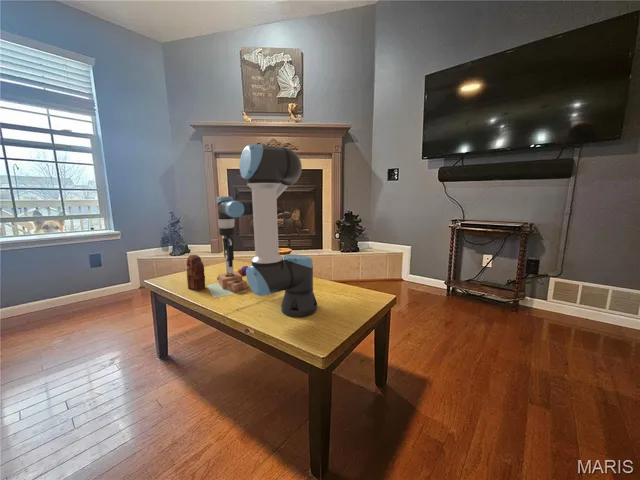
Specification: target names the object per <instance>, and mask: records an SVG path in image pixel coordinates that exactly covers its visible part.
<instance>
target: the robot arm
mask: <svg viewBox="0 0 640 480" xmlns="http://www.w3.org/2000/svg"><path fill="white" fill-rule="evenodd" d="M239 159H240V160H239V173H240V177H241V178H242V179H244V180H246V186H248V187H249V189H251V196H252V197H251V199H252V200H234V198H233V197H232V196H218V197H216V205H217V206H216V207H217V220H218V221H217V222H218V227H219V228H218V232H219V235H220V236H223V238H222V239H221V240H222V243H223V244H222V245H223V247H222V248H223V257H224V259H225V262H226V261H227V268H228V273H233V272H234V262H233V261H234V260H235V258H234V256H235V255H234V254H235V253H234V241H233V238H232V236H234V235H235V234H236V228H235V223H236V220H235V218H240V217H253V220H252V221H253V233H254V234H253V236H254V237H253V238H254V253H255V254H254V256H253V257H252V258H251V265H249V266H248V267H247V270H246V275H245V276H246V280H247V281H246V282H247V285H248V286H249V288H250V290H251V291H252V293H253V294H254V295H255V296H258V297H262V296H263V297H264V296H270V295H272V294H275V293H280V292H283V291H284V294H283V298H282V301H281V305H280V306H281V307H280V308H281V309H280V310H281V313H283V314H284V315H285V316H288V317H292V318H293V317H294V318H303V317H308V316H311V315H313V314H315V313H317V311H318V302H317V299H316V296H315V293H314V264H313V261H314V260H313V258H311V257H310V256H308V255H303V254H295V253H294V254H293V253H292V254H285V255H284V257H283V256H282V255H281V254H280V252H279V251H280V250H279V248H280V247H279V227H278V223H279V222H278V205H277V203H278V201H277V199H279V197H280V196H281V195H282V194H283V192H285V191H286V189H287V188H288V187H291V186H293V185H294V184H295V183H297V181H298V180H299V178H300V176H301V174H302V170H303V168H302V166H303V165H302V161H301V159H300V157H299V155H298V154H297V153H296V152H295V151H294V150H292V149H290V148H289V147H285V146H283V147H282V146H281V147H280V146H275V145H274V146H273V145H269V144H268V145H267V144H262V143H260V144H257V143H256V144H254V143H252V144H251V143H250V144H247V145H246V146H245V147H244V148H243V150H242V152H241V155H240V158H239ZM226 250H227V260H226V255H225V251H226ZM227 268H226V267H225V270H226V272H227Z"/></svg>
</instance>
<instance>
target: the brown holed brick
mask: <svg viewBox="0 0 640 480" xmlns="http://www.w3.org/2000/svg"><path fill="white" fill-rule="evenodd" d="M227 290H229V291H231V292H233V293H235V294H238V293H237V292H240V293H242V292H241V291H244V290H248V281H246V280H243V279H242V280H241V279H237V280H233V281H229V282H227Z"/></svg>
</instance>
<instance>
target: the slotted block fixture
mask: <svg viewBox="0 0 640 480" xmlns="http://www.w3.org/2000/svg"><path fill="white" fill-rule="evenodd" d="M217 277H218V279H219V280H218V282H217V283H211V284H206V287H207V289H208V291H209V292H210V294H211V296H212V298H214V299H215V298H219V297H224V296H225V297H226V296H229V295H234V294H239V293H244V292H248V289H247V290H244V291H241V292H237V293H233V292H231V291H229V290H227V282H229V281H233V280H237V279H241V280H243V275H242V276H241V275H240V274H239V273H238V272H237V271H233V276H231V277H227V272H224V273H219V274H217Z"/></svg>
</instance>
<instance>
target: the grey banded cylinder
mask: <svg viewBox="0 0 640 480" xmlns="http://www.w3.org/2000/svg"><path fill="white" fill-rule="evenodd" d="M225 255H226V260H227V250H226V251H225ZM226 260H225V269H226V268H227V261H226ZM226 273H227V277H231V276H233V273H228V268H227V271H226Z"/></svg>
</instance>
